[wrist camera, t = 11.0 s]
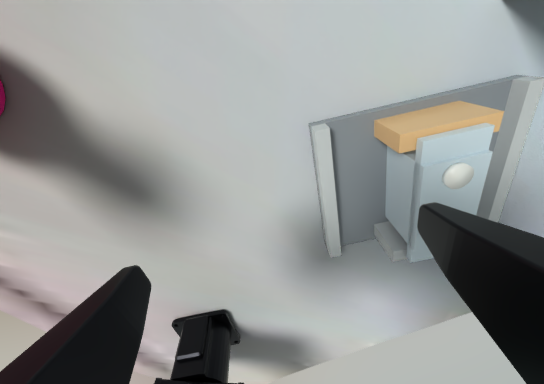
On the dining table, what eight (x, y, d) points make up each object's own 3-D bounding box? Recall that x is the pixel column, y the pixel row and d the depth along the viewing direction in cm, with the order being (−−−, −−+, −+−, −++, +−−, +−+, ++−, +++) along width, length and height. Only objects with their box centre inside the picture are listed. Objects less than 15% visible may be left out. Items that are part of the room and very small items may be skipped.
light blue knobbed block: (428, 219, 22) (469, 258, 18) (384, 228, 22) (415, 269, 18) (443, 109, 17) (505, 128, 13) (387, 122, 17) (430, 145, 13)
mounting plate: (479, 210, 23) (522, 241, 19) (325, 242, 24) (338, 278, 20) (516, 75, 17) (589, 81, 13) (308, 123, 18) (323, 142, 14)
